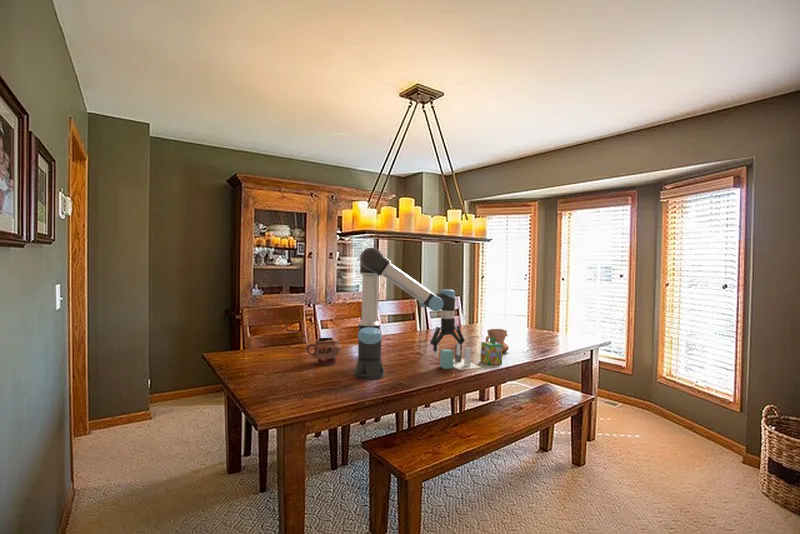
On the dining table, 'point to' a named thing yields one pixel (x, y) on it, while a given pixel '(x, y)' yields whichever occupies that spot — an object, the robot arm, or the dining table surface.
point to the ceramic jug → (498, 337)
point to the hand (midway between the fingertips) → (447, 356)
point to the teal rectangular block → (446, 359)
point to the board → (461, 365)
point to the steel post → (467, 357)
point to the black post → (457, 357)
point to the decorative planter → (325, 350)
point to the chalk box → (491, 352)
